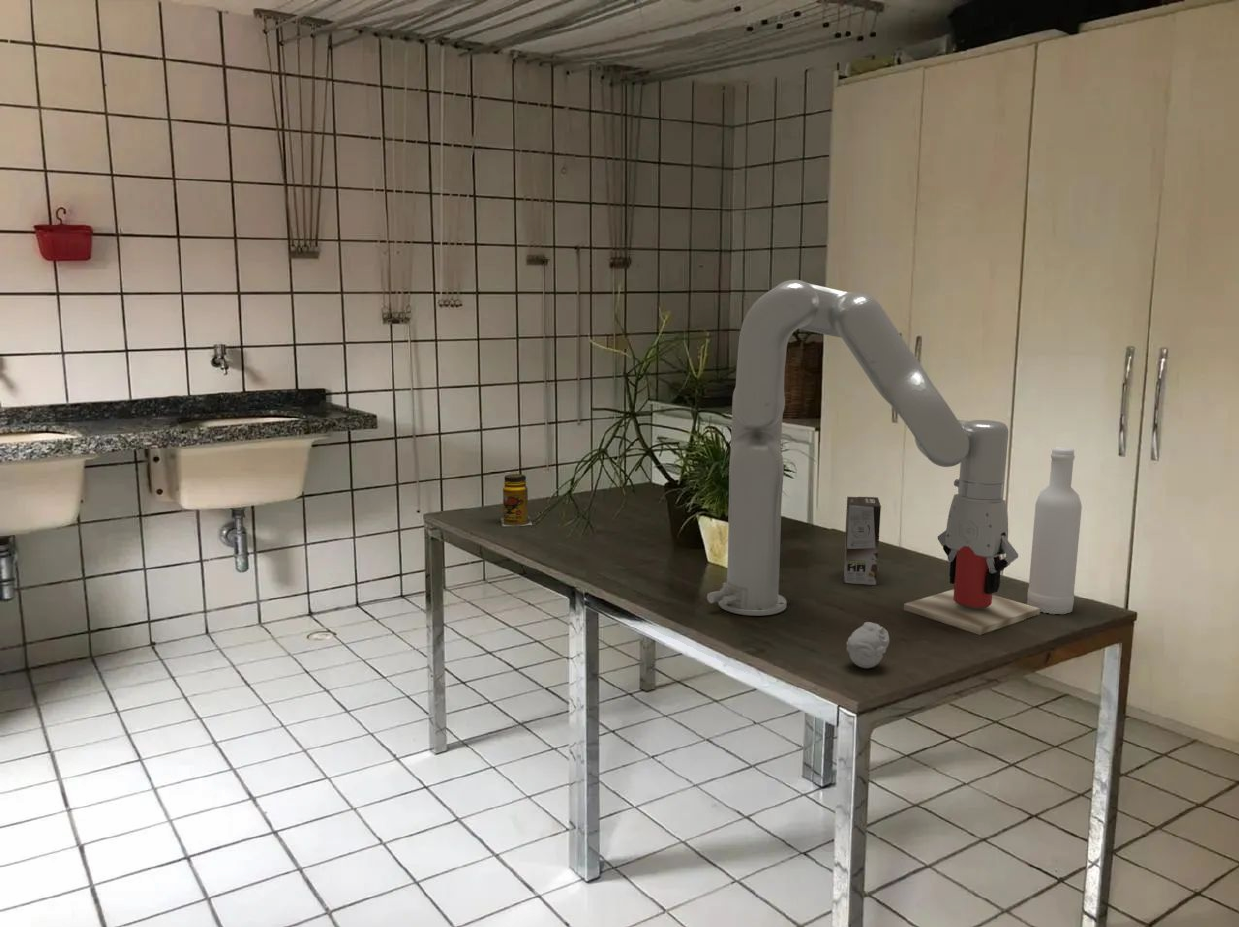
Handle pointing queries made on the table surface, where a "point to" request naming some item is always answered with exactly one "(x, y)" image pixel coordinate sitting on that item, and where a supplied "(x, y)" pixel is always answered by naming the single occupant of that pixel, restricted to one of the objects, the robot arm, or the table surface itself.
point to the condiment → (515, 501)
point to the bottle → (1055, 539)
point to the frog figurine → (868, 645)
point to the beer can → (971, 580)
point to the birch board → (971, 612)
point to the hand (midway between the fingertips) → (973, 586)
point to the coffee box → (862, 540)
